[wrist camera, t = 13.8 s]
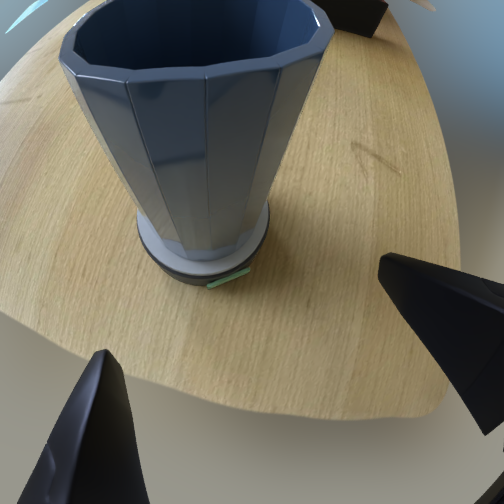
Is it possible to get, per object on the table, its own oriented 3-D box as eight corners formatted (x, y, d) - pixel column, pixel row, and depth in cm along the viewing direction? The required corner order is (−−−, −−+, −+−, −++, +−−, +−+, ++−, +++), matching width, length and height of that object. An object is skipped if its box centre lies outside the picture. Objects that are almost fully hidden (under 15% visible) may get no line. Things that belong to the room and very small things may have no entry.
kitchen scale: (282, 259, 20) (296, 246, 17) (171, 306, 19) (160, 302, 15) (235, 162, 22) (238, 136, 19) (134, 199, 20) (121, 177, 17)
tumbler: (280, 211, 17) (377, 34, 5) (200, 285, 16) (144, 147, 3) (209, 146, 18) (214, -34, 6) (131, 207, 16) (37, 37, 4)
